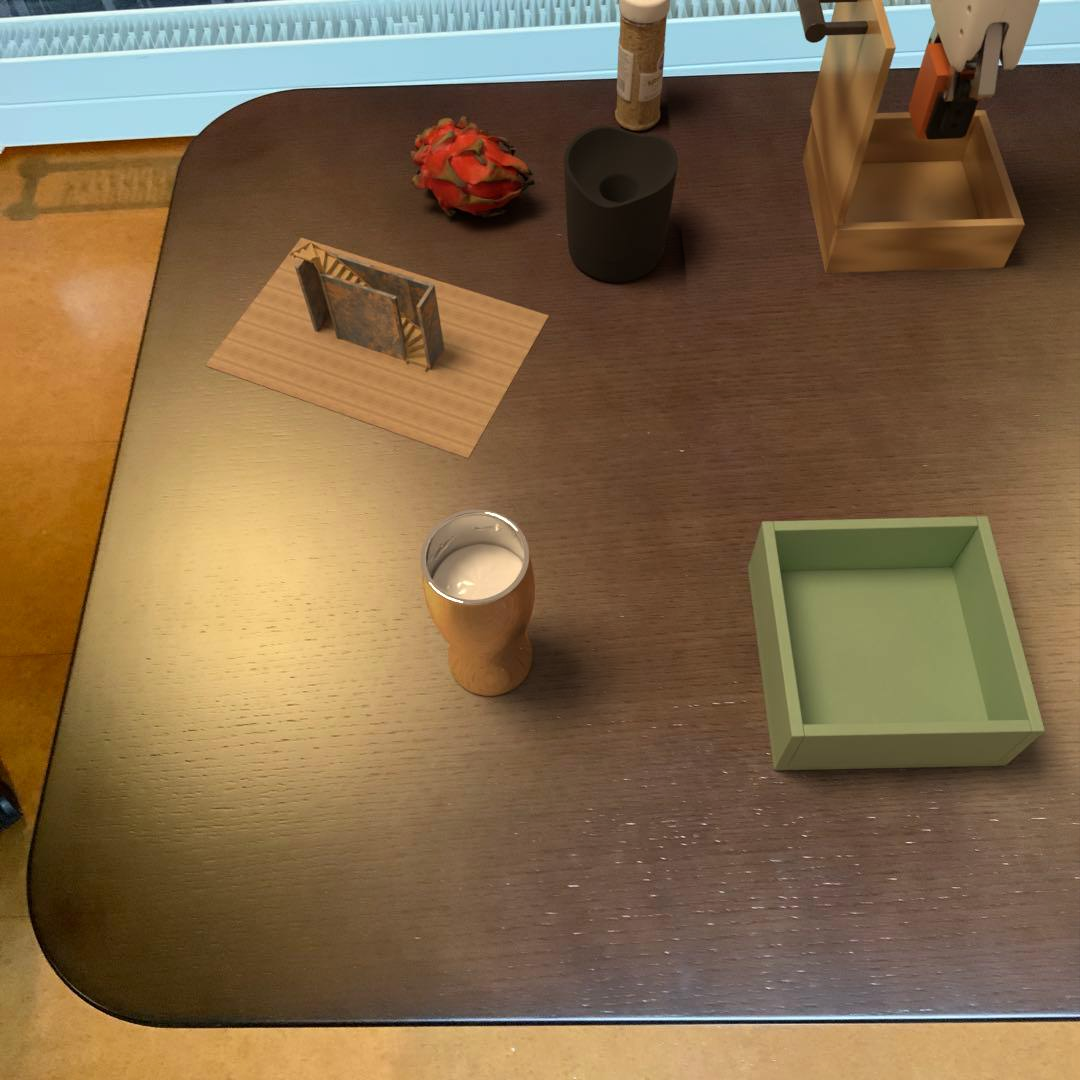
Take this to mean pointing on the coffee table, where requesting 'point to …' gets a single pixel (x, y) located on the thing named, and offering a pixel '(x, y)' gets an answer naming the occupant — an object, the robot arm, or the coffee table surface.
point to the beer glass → (481, 598)
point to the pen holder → (618, 201)
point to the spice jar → (640, 62)
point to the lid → (847, 87)
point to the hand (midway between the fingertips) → (939, 115)
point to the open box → (888, 645)
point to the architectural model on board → (381, 345)
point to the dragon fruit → (468, 168)
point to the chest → (919, 202)
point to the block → (931, 86)
